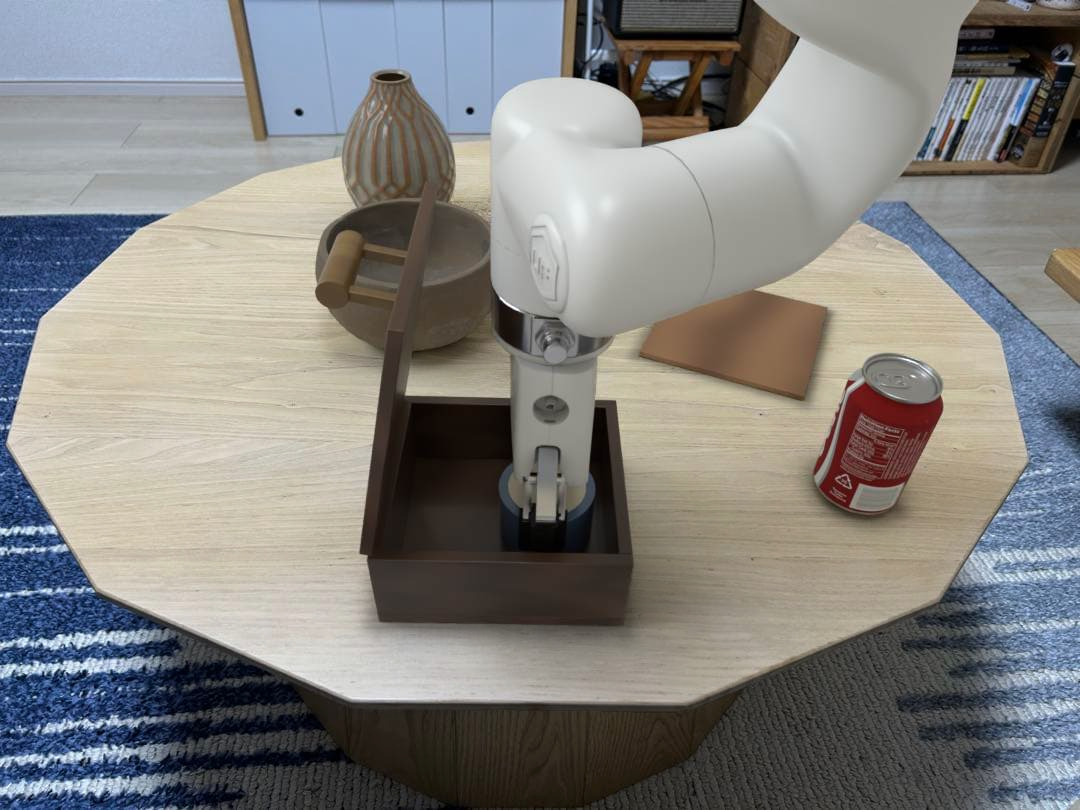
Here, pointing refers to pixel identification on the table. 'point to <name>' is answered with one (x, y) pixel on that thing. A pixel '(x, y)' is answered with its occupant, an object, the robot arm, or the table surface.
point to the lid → (400, 335)
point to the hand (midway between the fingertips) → (541, 496)
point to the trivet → (744, 341)
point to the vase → (396, 144)
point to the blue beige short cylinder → (576, 504)
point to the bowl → (449, 279)
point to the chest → (490, 526)
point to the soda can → (879, 433)
